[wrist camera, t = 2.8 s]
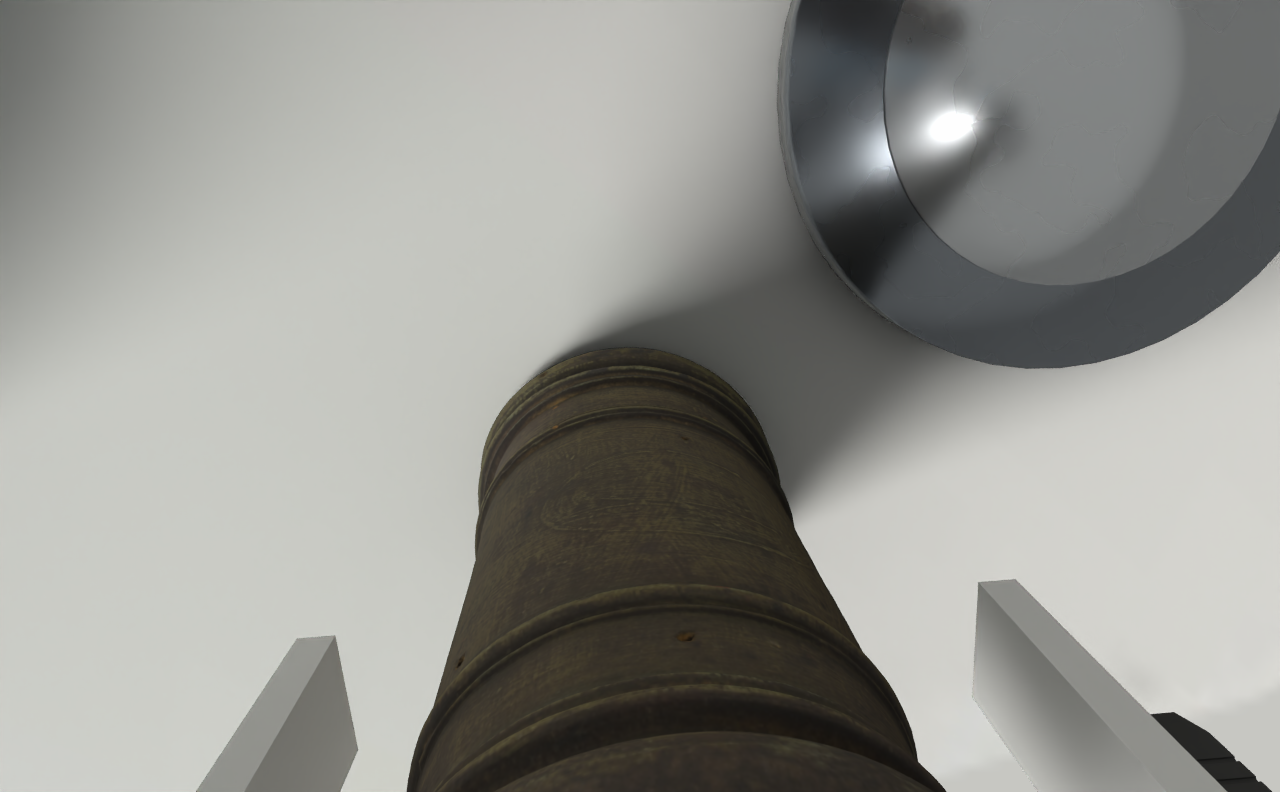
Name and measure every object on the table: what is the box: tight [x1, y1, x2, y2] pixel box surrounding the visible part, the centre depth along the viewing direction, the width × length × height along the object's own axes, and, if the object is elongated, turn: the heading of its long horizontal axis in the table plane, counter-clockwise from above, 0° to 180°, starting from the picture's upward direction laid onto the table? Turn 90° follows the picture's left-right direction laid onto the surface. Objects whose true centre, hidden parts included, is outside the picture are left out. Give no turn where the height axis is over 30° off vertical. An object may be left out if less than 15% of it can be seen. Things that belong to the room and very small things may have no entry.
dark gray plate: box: [777, 0, 1280, 369], centre depth 22 cm, size 16×16×2 cm
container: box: [407, 348, 946, 792], centre depth 17 cm, size 9×9×18 cm
